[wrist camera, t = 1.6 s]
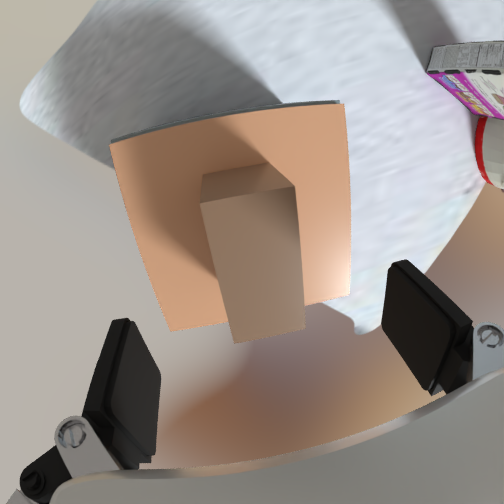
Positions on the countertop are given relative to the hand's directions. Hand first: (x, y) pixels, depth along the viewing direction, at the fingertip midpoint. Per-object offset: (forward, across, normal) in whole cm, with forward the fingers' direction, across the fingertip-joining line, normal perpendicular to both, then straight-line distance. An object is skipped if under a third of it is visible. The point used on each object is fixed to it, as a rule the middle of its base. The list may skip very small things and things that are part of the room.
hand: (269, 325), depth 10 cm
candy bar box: (+22, -32, -11) cm, 40 cm away
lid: (+10, 0, -1) cm, 10 cm away
